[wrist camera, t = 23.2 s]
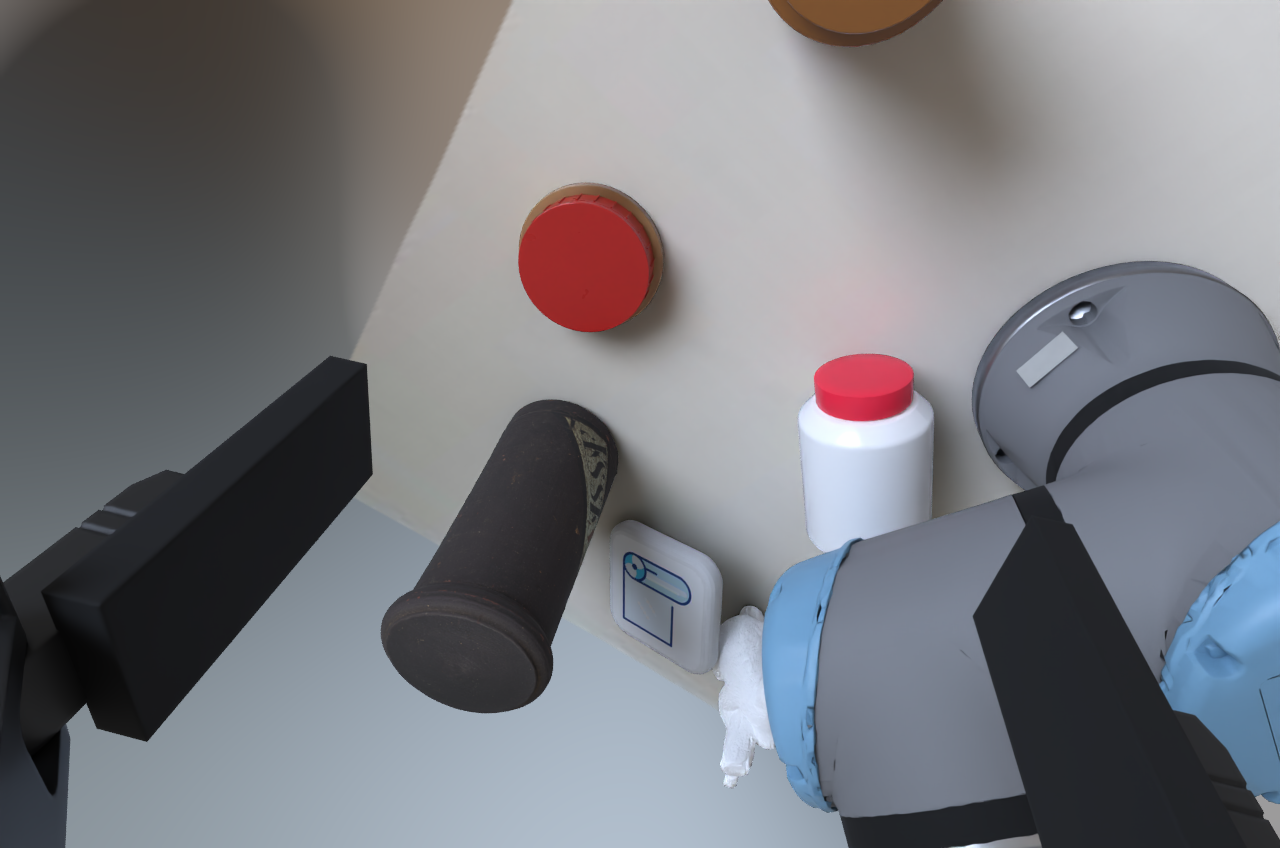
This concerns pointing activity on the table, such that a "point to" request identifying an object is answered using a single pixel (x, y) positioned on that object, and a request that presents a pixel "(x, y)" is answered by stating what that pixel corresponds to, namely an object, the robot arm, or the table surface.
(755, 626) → the koala figurine
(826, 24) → the sauce jar
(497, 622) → the container
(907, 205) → the table surface
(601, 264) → the jar lid
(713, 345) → the table surface
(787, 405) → the table surface
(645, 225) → the coaster
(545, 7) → the table surface
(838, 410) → the pill bottle
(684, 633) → the button
